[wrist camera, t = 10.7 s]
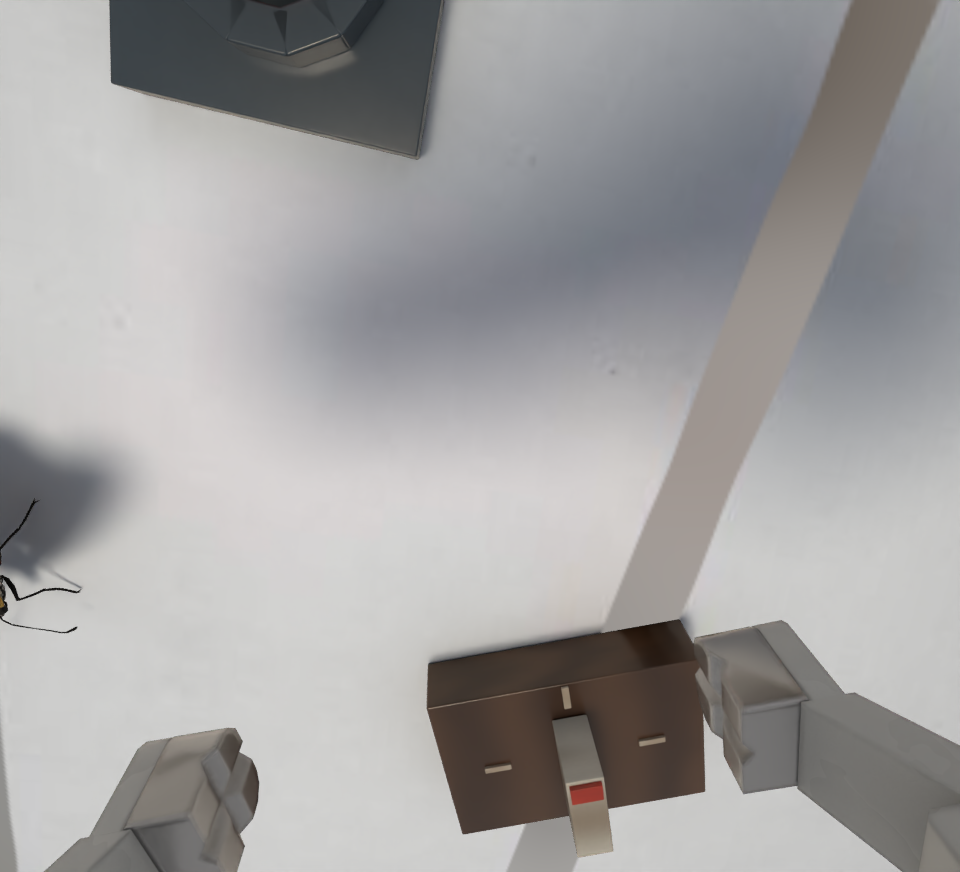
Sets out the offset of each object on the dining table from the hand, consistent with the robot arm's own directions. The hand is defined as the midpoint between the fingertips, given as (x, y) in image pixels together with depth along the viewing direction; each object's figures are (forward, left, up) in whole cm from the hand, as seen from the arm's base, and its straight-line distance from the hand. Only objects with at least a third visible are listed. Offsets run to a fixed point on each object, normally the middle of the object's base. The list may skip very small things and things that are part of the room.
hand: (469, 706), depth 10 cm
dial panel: (-3, +20, -17) cm, 26 cm away
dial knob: (-3, +20, -14) cm, 24 cm away
